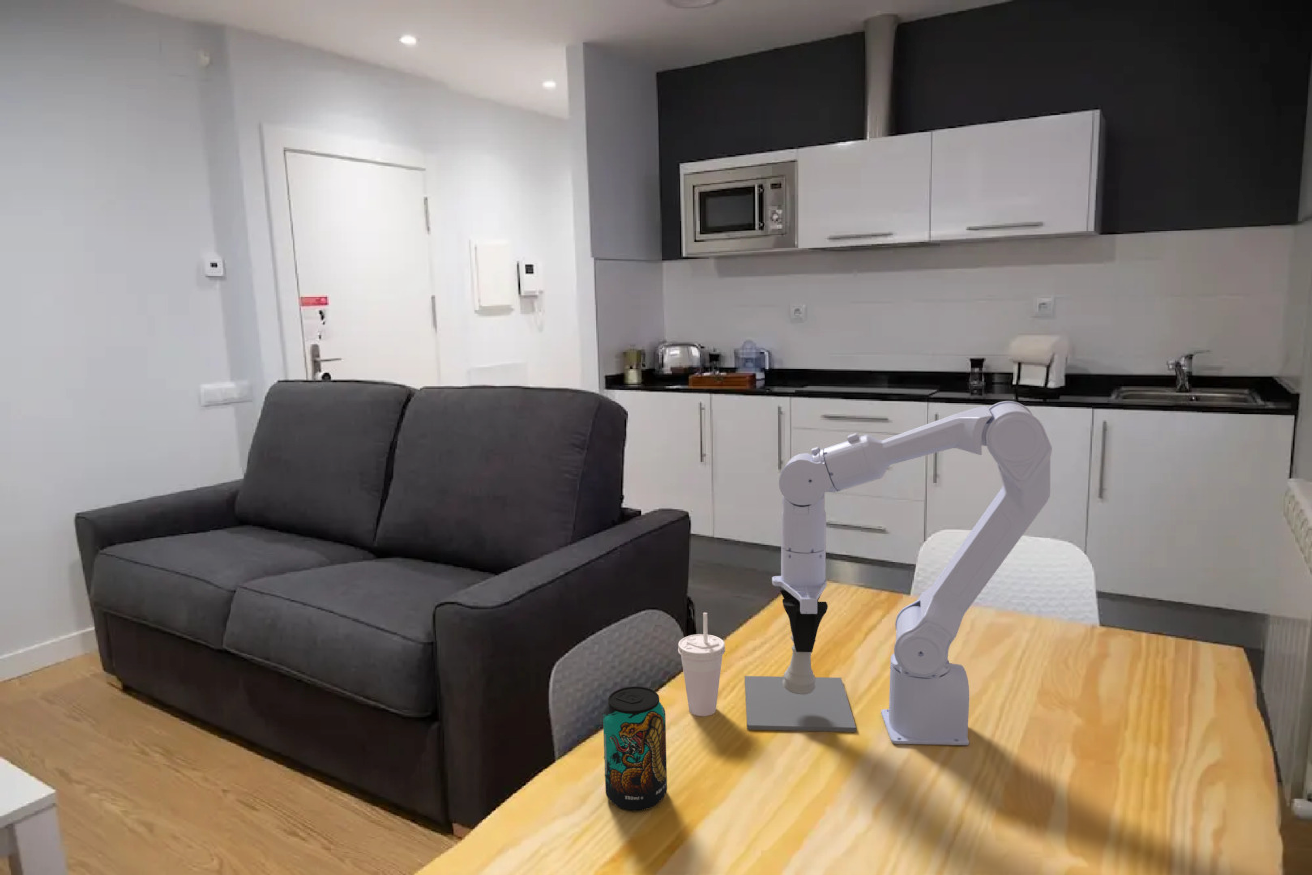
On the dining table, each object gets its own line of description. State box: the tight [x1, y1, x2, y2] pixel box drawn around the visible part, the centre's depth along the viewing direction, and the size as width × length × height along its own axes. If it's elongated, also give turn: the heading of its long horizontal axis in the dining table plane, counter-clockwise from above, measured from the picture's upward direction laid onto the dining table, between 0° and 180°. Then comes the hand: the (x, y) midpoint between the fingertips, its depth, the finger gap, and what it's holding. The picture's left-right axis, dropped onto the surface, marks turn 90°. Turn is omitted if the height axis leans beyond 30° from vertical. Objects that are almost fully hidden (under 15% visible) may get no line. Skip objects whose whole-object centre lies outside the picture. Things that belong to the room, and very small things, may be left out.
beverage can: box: [602, 686, 668, 812], centre depth 94 cm, size 7×7×12 cm
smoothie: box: [677, 612, 726, 717], centre depth 112 cm, size 6×6×14 cm
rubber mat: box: [744, 675, 857, 733], centre depth 114 cm, size 14×14×1 cm
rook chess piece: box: [782, 634, 817, 695], centre depth 110 cm, size 4×4×8 cm
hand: (802, 644), depth 110 cm, fingers closed on rook chess piece, 3 cm apart
